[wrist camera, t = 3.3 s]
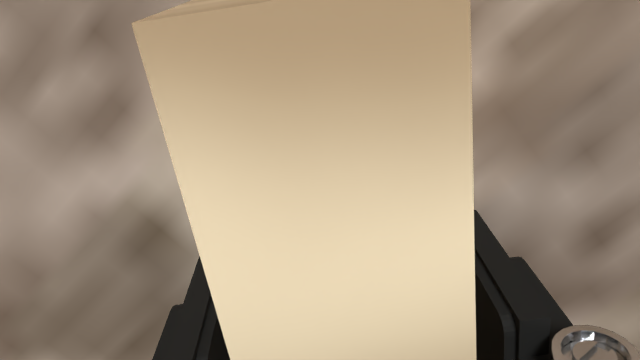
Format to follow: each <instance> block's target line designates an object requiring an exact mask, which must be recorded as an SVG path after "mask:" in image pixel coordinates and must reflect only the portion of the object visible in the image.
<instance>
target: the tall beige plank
mask: <svg viewBox="0 0 640 360" xmlns="http://www.w3.org/2000/svg"><path fill="white" fill-rule="evenodd" d="M131 24H132V27H133V31H134V34H135V38H136V41H137V44H138V48H139V51H140V55H141V58H142V61H143V65H144V68H145V72H146V75H147V78H148V82H149V85H150V89H151V92H152V95H153V99H154V102H155V106H156V109H157V112H158V116H159V119H160V123H161V126H162V129H163V133H164V136H165V140H166V143H167V146H168V150H169V153H170V157H171V160H172V163H173V167H174V170H175V173H176V177H177V180H178V184H179V187H180V190H181V194H182V197H183V201H184V204H185V207H186V211H187V214H188V218H189V221H190V224H191V228H192V231H193V235H194V238H195V241H196V245H197V248H198V252H199V255H200V258H201V262H202V265H203V269H204V272H205V275H206V279H207V282H208V286H209V289H210V292H211V296H212V299H213V303H214V306H215V309H216V313H217V316H218V320H219V323H220V326H221V330H222V333H223V337H224V340H225V343H226V347H227V350H228V354H229V357H230V360H477V359H476V302H475V245H474V188H473V130H472V73H471V16H470V0H192V1H189V2H187V3H184V4H181V5H179V6H176V7H173V8H171V9H168V10H165V11H163V12H160V13H157V14H155V15H152V16H149V17H147V18H144V19H141V20H139V21H136V22H133V23H131Z"/></svg>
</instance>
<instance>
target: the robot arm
mask: <svg viewBox="0 0 640 360" xmlns="http://www.w3.org/2000/svg"><path fill="white" fill-rule="evenodd" d="M474 245H475V302H476V359H477V360H640V354H639V353H638V351H637V350H636V348H635V347H634V346H633V345H632V344H631V343H630V342H629V341H628V340H626V339H625V338H624V337H622V336H620V335H618V334H616V333H615V332H613V331H610V330H607V329H604V328H601V327H596V326H590V325H574V326H573V325H572V323H571V322H570V321H569V319H568V318H567V316H566V315H565V314H564V312H563V311H562V310H561V308H560V307H559V306H558V304H557V303H556V302H555V300H554V299H553V298H552V296H551V295H550V294H549V292H548V291H547V290H546V288H545V287H544V286H543V284H542V283H541V282H540V280H539V279H538V278H537V276H536V275H535V274H534V272H533V271H532V270H531V268H530V267H529V266H528V264H527V263H526V262H525V260H524V259H523V258H522V257H512V258H509V256H508V255H507V253H506V252H505V251H504V249H503V248H502V246H501V245H500V243H499V242H498V241H497V239H496V238H495V236H494V235H493V233H492V232H491V231H490V229H489V228H488V226H487V225H486V224H485V222H484V221H483V219H482V218H481V216H480V215H479V214H478V212H477V211H476V210H474ZM152 360H230V357H229V354H228V350H227V347H226V343H225V340H224V337H223V333H222V330H221V326H220V323H219V320H218V316H217V313H216V309H215V306H214V303H213V299H212V296H211V292H210V289H209V286H208V282H207V279H206V275H205V272H204V269H203V265H202V262H201V258H200V256H199V259H198V262H197V265H196V268H195V271H194V274H193V277H192V280H191V283H190V286H189V289H188V291H187V294H186V297H185V300H184V303H183V304H180V305H175V306H173V307H172V309H171V311H170V313H169V316H168V319H167V321H166V324H165V327H164V330H163V332H162V335H161V338H160V340H159V343H158V346H157V348H156V351H155V354H154V357H153V359H152Z"/></svg>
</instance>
